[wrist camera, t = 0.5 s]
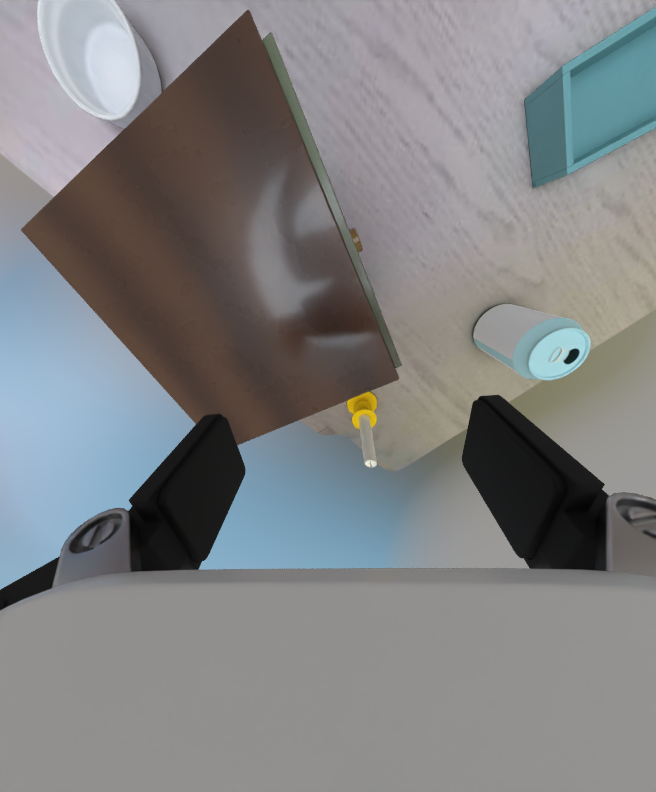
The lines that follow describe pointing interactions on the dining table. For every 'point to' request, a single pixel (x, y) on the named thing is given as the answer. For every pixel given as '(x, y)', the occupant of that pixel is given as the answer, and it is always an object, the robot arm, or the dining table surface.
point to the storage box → (594, 102)
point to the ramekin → (98, 58)
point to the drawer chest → (224, 247)
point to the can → (532, 341)
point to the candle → (365, 423)
